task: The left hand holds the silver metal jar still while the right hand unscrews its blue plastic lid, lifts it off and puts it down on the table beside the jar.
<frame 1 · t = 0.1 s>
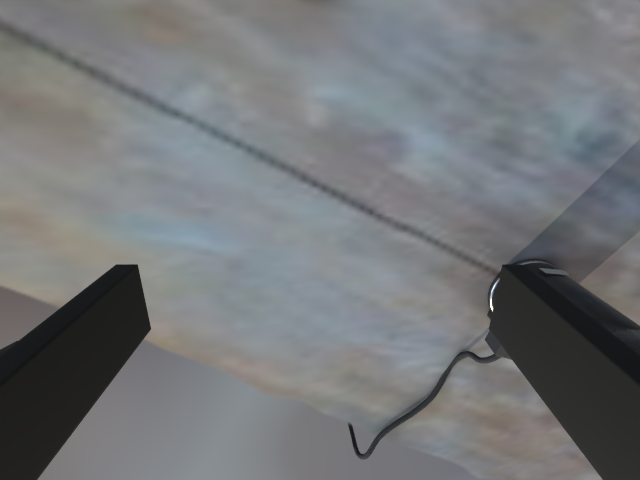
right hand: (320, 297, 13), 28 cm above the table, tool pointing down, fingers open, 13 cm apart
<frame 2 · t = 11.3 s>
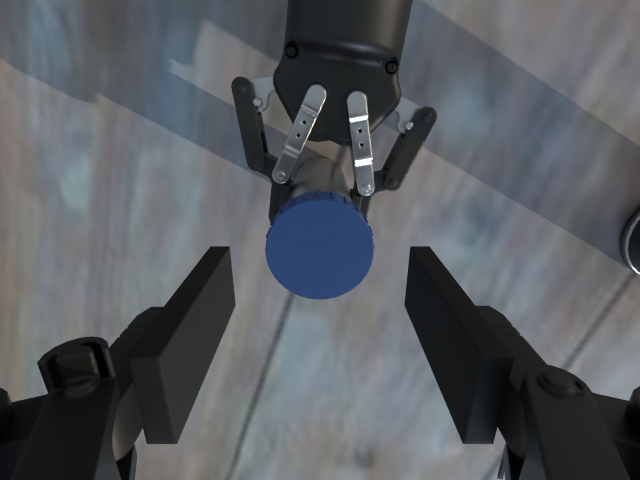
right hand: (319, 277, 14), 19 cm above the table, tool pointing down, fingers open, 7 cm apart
left hand: (315, 233, 27), fingers closed on jar, 4 cm apart
jar: (320, 181, 32), on the table, touching left hand
lid: (319, 249, 17), point 16 cm above the table, screwed on, not yet turned
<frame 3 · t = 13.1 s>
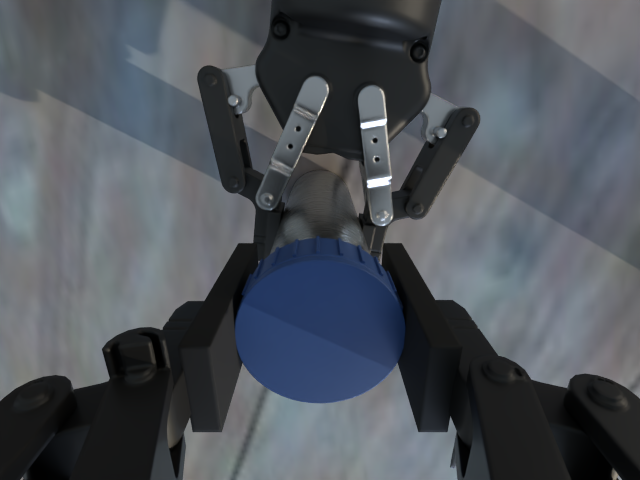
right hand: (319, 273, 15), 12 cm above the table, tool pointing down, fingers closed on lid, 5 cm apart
left hand: (314, 270, 21), fingers closed on jar, 4 cm apart
jar: (320, 200, 26), on the table, touching left hand
lid: (320, 331, 11), point 16 cm above the table, screwed on, not yet turned, touching right hand
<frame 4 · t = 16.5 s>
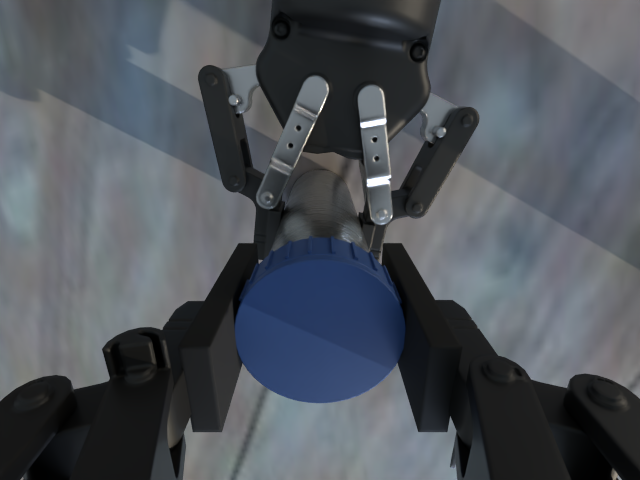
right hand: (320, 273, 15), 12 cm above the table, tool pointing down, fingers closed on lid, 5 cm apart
left hand: (314, 269, 21), fingers closed on jar, 4 cm apart
jar: (320, 199, 26), on the table, touching left hand
lid: (319, 331, 11), point 16 cm above the table, turned 110° so far, risen 0.1 cm, still on its thread, touching right hand
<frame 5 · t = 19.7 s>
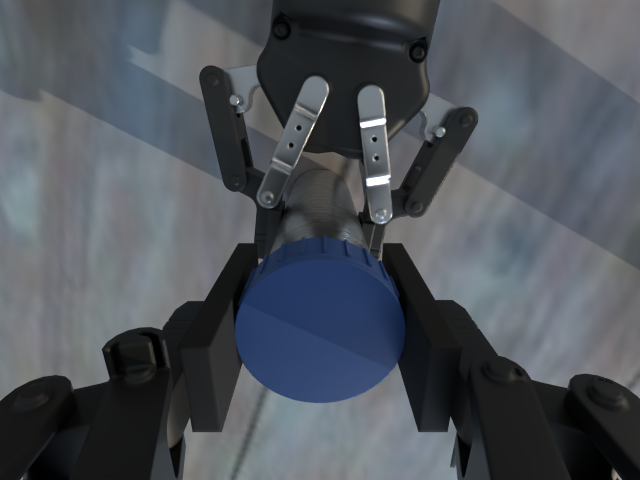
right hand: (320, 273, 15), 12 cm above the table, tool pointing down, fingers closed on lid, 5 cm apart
left hand: (314, 268, 21), fingers closed on jar, 4 cm apart
jar: (320, 198, 26), on the table, touching left hand
lid: (320, 330, 11), point 16 cm above the table, turned 220° so far, risen 0.3 cm, still on its thread, touching right hand
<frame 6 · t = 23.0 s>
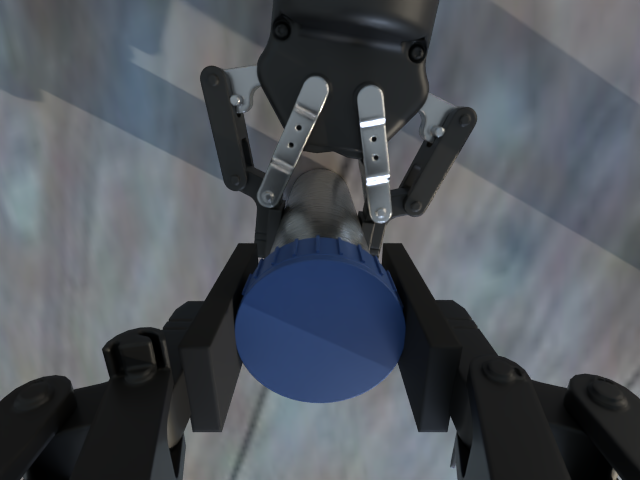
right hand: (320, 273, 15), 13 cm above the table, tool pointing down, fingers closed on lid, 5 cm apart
left hand: (314, 267, 21), fingers closed on jar, 4 cm apart
jar: (320, 198, 26), on the table, touching left hand
lid: (320, 331, 11), point 17 cm above the table, turned 330° so far, risen 0.4 cm, still on its thread, touching right hand
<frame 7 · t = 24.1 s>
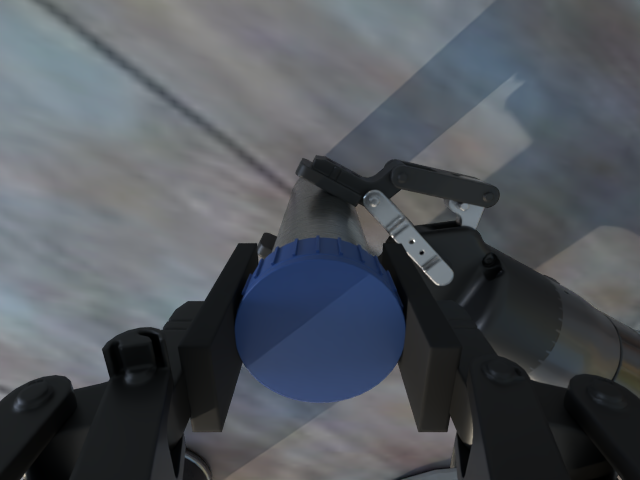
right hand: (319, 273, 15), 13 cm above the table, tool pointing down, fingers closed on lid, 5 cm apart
left hand: (279, 206, 20), fingers closed on jar, 4 cm apart
jar: (320, 199, 27), on the table, touching left hand
lid: (320, 330, 11), point 17 cm above the table, off its thread, touching right hand
when the right hand's fingers open (0 cm above the table, at t = 30.2 s): lid drops 3 cm, point 1 cm above the table.
when the left hand's fingers open (7 cm above the table, at t = 30.8 s): jar stays where it is, on the table.
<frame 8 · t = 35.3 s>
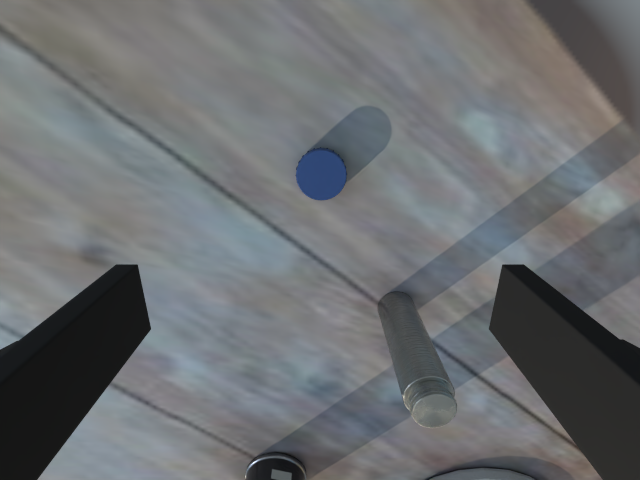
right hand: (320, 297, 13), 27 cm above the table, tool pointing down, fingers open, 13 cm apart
jar: (395, 307, 44), on the table
lid: (321, 175, 36), point 1 cm above the table, off its thread
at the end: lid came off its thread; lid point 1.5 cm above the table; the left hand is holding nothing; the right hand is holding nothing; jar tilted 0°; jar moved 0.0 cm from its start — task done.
